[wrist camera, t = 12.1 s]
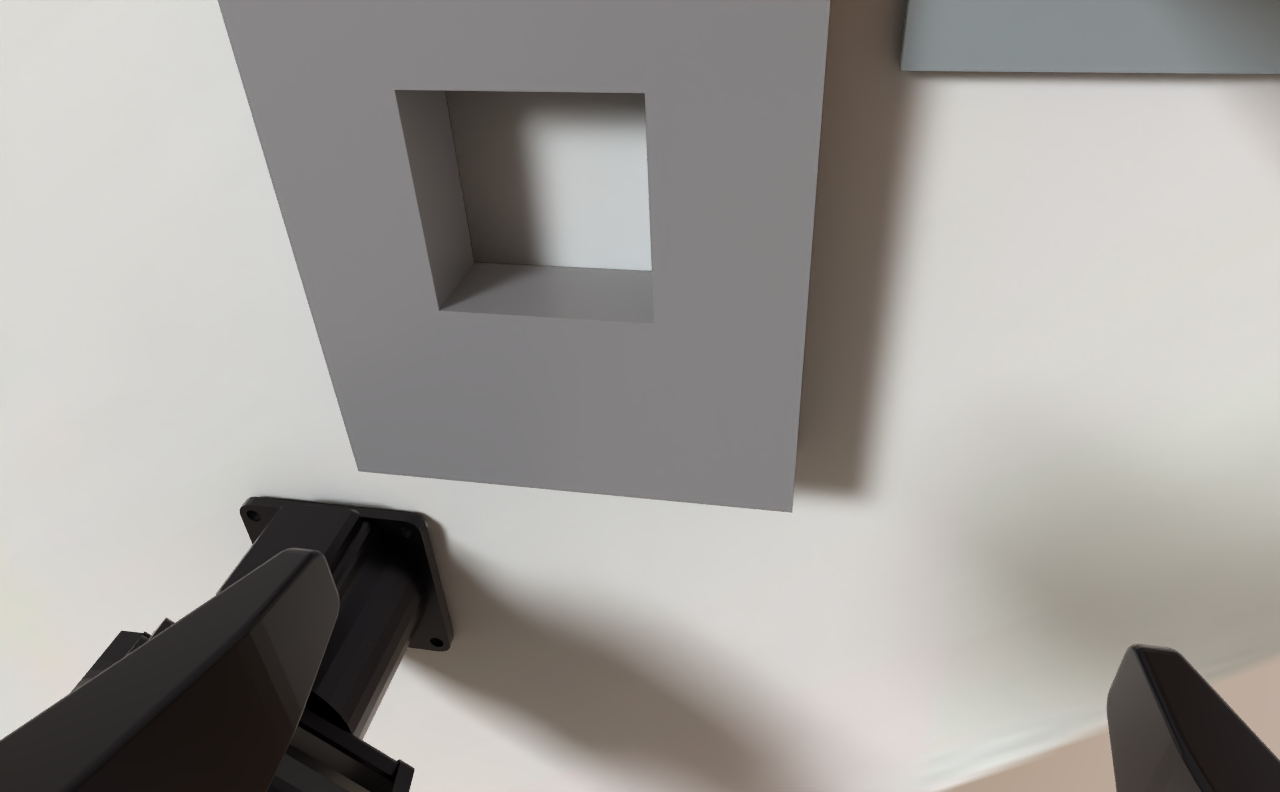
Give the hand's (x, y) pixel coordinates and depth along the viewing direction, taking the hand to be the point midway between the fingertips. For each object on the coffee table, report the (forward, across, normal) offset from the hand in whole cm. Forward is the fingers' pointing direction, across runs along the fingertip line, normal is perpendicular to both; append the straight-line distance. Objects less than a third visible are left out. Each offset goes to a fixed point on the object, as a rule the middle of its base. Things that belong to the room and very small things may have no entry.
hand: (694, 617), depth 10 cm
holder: (+13, +5, 0) cm, 14 cm away
